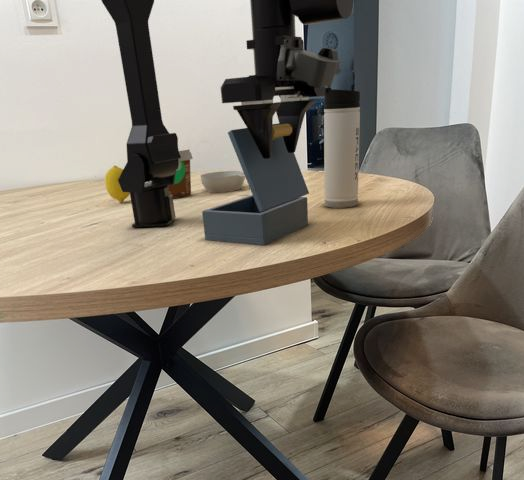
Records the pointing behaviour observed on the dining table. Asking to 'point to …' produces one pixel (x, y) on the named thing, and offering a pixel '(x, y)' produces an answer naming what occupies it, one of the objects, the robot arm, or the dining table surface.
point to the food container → (182, 177)
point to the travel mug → (341, 147)
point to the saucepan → (223, 181)
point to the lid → (269, 168)
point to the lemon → (115, 184)
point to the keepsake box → (253, 221)
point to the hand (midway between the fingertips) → (279, 155)
